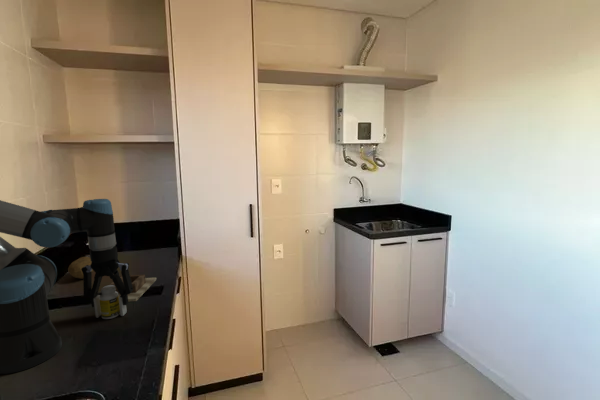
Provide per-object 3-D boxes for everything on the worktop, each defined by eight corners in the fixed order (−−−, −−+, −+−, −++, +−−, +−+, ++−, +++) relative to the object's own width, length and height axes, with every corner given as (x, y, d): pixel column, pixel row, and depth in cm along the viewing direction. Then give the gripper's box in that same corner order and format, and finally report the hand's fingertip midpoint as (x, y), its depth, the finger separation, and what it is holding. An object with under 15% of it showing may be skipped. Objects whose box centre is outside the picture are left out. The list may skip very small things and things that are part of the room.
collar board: (136, 301, 117) (135, 289, 117) (96, 303, 116) (94, 291, 116) (156, 279, 137) (155, 269, 136) (122, 281, 136) (120, 271, 135)
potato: (64, 284, 134) (61, 266, 133) (75, 273, 148) (73, 256, 146) (91, 281, 137) (88, 263, 136) (100, 270, 150) (98, 253, 149)
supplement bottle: (112, 320, 104) (108, 291, 102) (97, 319, 105) (93, 290, 104) (124, 312, 109) (121, 284, 108) (110, 311, 110) (107, 283, 109)
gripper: (140, 242, 108) (147, 307, 112) (77, 245, 107) (86, 311, 110) (130, 249, 101) (138, 318, 104) (62, 252, 99) (72, 322, 103)
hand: (111, 314), depth 107 cm, fingers open, 7 cm apart
